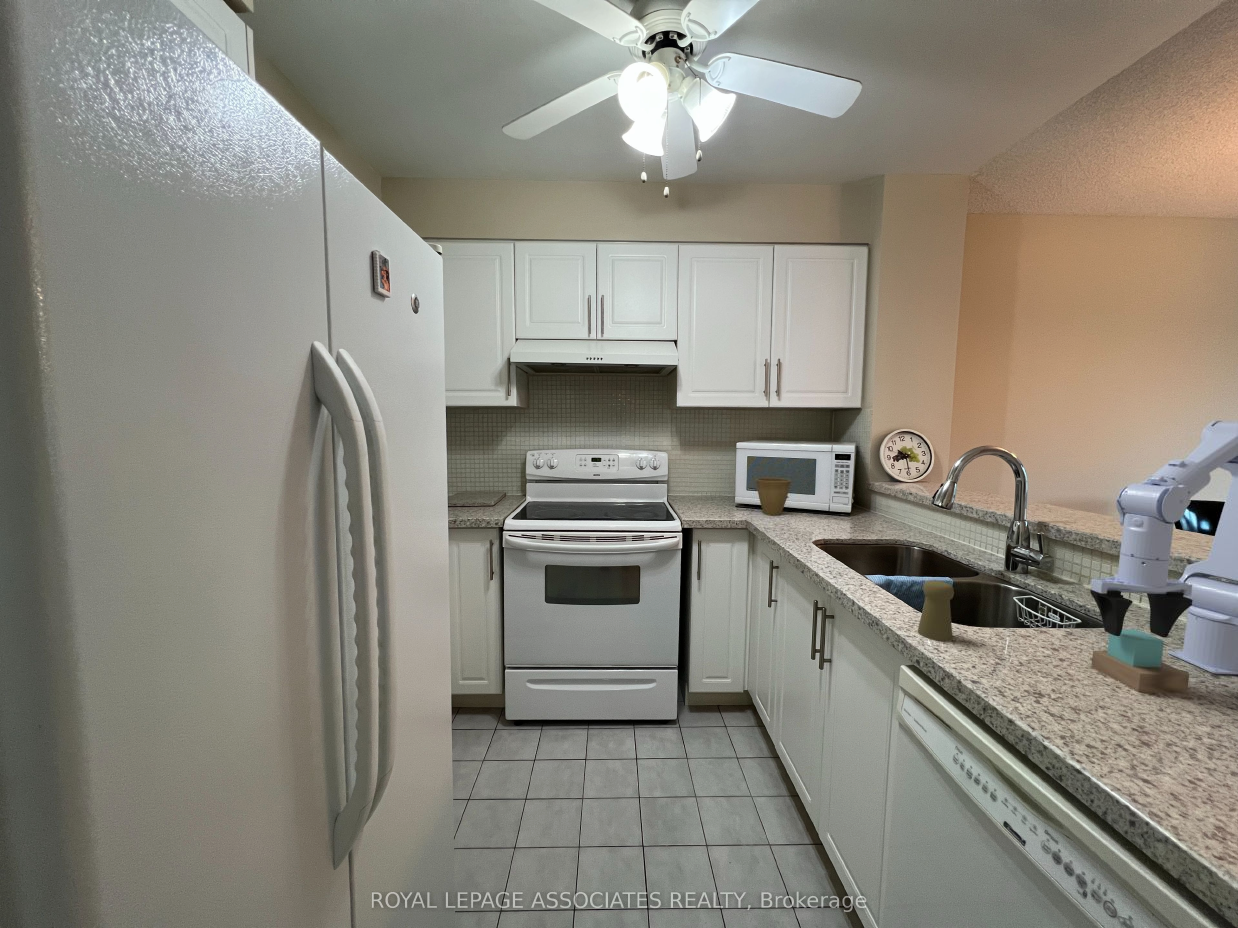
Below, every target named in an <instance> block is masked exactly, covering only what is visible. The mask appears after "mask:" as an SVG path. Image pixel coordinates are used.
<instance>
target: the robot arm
mask: <svg viewBox="0 0 1238 928" xmlns="http://www.w3.org/2000/svg"><path fill="white" fill-rule="evenodd" d="M1218 468H1220V469H1222V470H1225V471H1228V472H1229V473H1230V475H1231V476H1232V478H1231V482H1230V484H1229V489H1228V492H1227V494H1226V498H1225V502H1224V505H1223V508H1222V512H1221V514H1220V518H1219V520H1218V524H1217V528H1216V531H1215V535H1214V538H1213V540H1212V543H1211V546H1210V547H1211V548H1210V550H1209V553H1208V558H1207V559H1204V560H1201V561H1197V562H1195V563H1191V564H1188V565H1187V566H1186V568H1185V569H1184V571H1183V574H1182V576H1181V577H1180V578H1179V579H1178V580H1170V579H1168V576H1169V567H1170V559H1171V550H1172V544H1173V543H1172V542H1173V535H1174V526H1175V523H1176V522H1178V521H1179V520H1182V518H1184V515H1185V513H1186V511H1187V508H1188V507H1189V505H1191V504H1190V503H1191V498H1193V497H1194V496H1195V495H1197V494H1198V493H1199V492H1200V491H1201V490H1203V489H1204V488H1205V487H1206V486H1208V485H1209V484H1210V482H1211V478H1212V477H1211V472H1214V470H1216V469H1218ZM1115 505H1116V506H1115V507H1116V510H1117V512H1118V514H1119V516H1118V517H1119V518H1118V519H1119V520H1118V523H1119V525H1120V526H1122V533H1121V534H1122V535H1121V542H1120V552H1119V560H1118V561H1119V562H1118V572H1117V574H1116V573H1114V574H1113V576H1109V577H1103V578H1102V577H1101V578H1091V581H1090V582H1091V585H1090V589H1089V593H1090V595H1091V596H1092V598H1093V599H1094V601H1095V603H1096V605H1097V607H1098V610H1099V612H1100V616H1101V620H1102V625H1103V629H1104V632H1105V633H1108V634H1109V633H1110V634H1112V635H1114V636H1120V634H1121V632H1122V629H1124V627H1123V626H1124V622H1125V621H1124V620H1125V617H1126V614H1127V612H1128V610H1129V608H1130V606H1131V605H1132V603H1133V602H1134V601H1133V600H1132V599H1129V598H1127V597H1124V595H1123V594H1126V593H1128V594H1146V596H1147V599H1148V603H1149V611H1150V612H1149V613H1150V614H1149V631H1150V633H1151V634H1154V635H1156V636H1158V637H1161V638H1167V637H1168V635H1169V634H1170V632H1171V630H1172V628H1174V625H1175V623H1176V622H1177V621H1178V619H1179V618H1180V617H1181V615H1183V613H1184V612H1185V611H1186V612H1187V615H1186V622H1185V631H1184V639H1183V645H1182V650H1171V649H1170V650H1167V652H1166V653H1167V654H1168V655H1171V656H1173V657H1176V658H1178V659H1180V660H1182V661H1185V662H1187V663H1190V664H1192V665H1194V666H1196V667H1198V668H1201V669H1202V670H1205V671H1208V672H1210V673H1212V674H1215V675H1216V674H1217V675H1238V421H1223V420H1213V421H1210V423H1209V424H1208V425H1206V426H1205V427H1204V428H1203V429H1202V431H1201V436H1200V444H1199V445H1197V447H1195V449H1193V450H1192V452H1190V454H1189V455H1187V456H1186V457H1185V458H1183V459H1180V458H1179V459H1171V460H1170V461H1168V462H1167V463H1165V465H1163V466H1162V467H1160V468H1159V469H1157V470H1156V471H1155V472H1154V473H1153V474H1151V475H1150V476H1149V477H1147V478H1146V479H1145V480H1143V481H1142V482H1141V483H1136V482H1135V483H1131V484H1128V485H1126V486H1124V487H1123V488H1122V489H1121V490H1120V492H1119V493H1118V496H1117V498H1116V499H1115ZM1212 577H1213V578H1212ZM1215 578H1219V579H1215ZM1220 579H1224V580H1220ZM1225 580H1228V581H1232V582H1228V581H1225ZM1234 582H1237V583H1234Z"/></svg>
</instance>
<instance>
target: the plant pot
mask: <svg viewBox="0 0 1238 928" xmlns="http://www.w3.org/2000/svg"><path fill="white" fill-rule="evenodd" d="M791 482H792V481H791V479H788V478H777V477H761V478H760V477H759V478H756V489H757V494H758V497H759V498H758V499H759V501H760V506H761V509H762V513H763V514H764V515H765V516H766V515H767V516H780V515H782V512H783V510H784V508H785V505H786V502H787V498H788V495H789V491H790V485H791Z"/></svg>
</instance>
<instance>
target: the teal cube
mask: <svg viewBox="0 0 1238 928" xmlns="http://www.w3.org/2000/svg"><path fill="white" fill-rule="evenodd" d="M1108 634H1109V635H1108V641H1107V650H1106V651H1107V654H1109V655H1111V656H1113V657H1115V658H1117V659H1119V660H1121V661H1123V662H1125V663H1127V664H1129V665H1131V666H1135V667H1161V662H1162V659H1163V652H1164V643H1165V640H1162V639H1160V638H1157V637H1155V636H1153V635H1150V634H1148V633H1146V632H1143V631H1141V630H1138V629H1126V628H1122V632H1121V634H1120V636H1114V635H1112V634H1110V633H1108Z"/></svg>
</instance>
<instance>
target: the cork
mask: <svg viewBox="0 0 1238 928" xmlns="http://www.w3.org/2000/svg"><path fill="white" fill-rule="evenodd" d="M922 589H923V595H924V596H925V598H924V603H923V606H922V607H923V608H922V612H921V614H920V615H921V616H920V619H919V623H918V629H917V634H919V635H920V636H921V637H924V638H926V639H928V640H933V641H937V642H951V641H952V640H953V628H952V627H953V626H952V614H951V613H952V612H951V600H952V599H953V598H954V595H955V591H954V587H953V586H952V584H950V583H948V582H945V581H943V580H934V579H933V580H931V579H930V580H927V581H926V582H924V583H923V588H922Z"/></svg>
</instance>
